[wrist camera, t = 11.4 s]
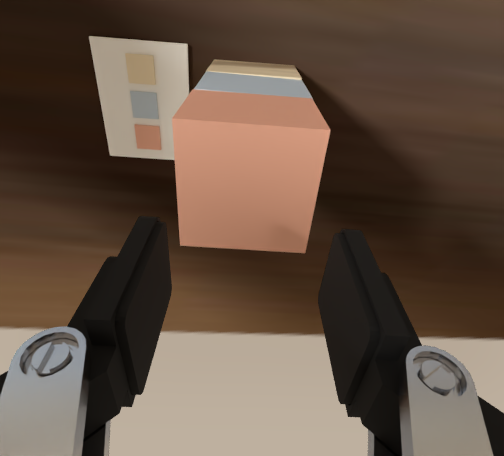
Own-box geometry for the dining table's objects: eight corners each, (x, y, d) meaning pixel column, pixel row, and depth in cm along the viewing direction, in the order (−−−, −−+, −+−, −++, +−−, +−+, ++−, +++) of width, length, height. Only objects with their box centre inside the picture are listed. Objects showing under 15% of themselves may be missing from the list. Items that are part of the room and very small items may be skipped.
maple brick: (214, 59, 25) (206, 70, 21) (293, 65, 25) (301, 78, 21) (214, 137, 28) (206, 161, 24) (284, 142, 28) (289, 166, 24)
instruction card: (90, 35, 24) (87, 36, 24) (187, 43, 24) (186, 44, 24) (111, 154, 29) (109, 156, 29) (191, 159, 29) (190, 162, 29)
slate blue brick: (206, 71, 21) (194, 88, 17) (301, 80, 21) (313, 99, 17) (205, 161, 24) (195, 194, 20) (287, 168, 24) (294, 202, 20)
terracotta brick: (192, 89, 17) (171, 118, 12) (312, 98, 17) (330, 130, 13) (195, 195, 20) (179, 245, 16) (295, 201, 20) (305, 253, 16)
